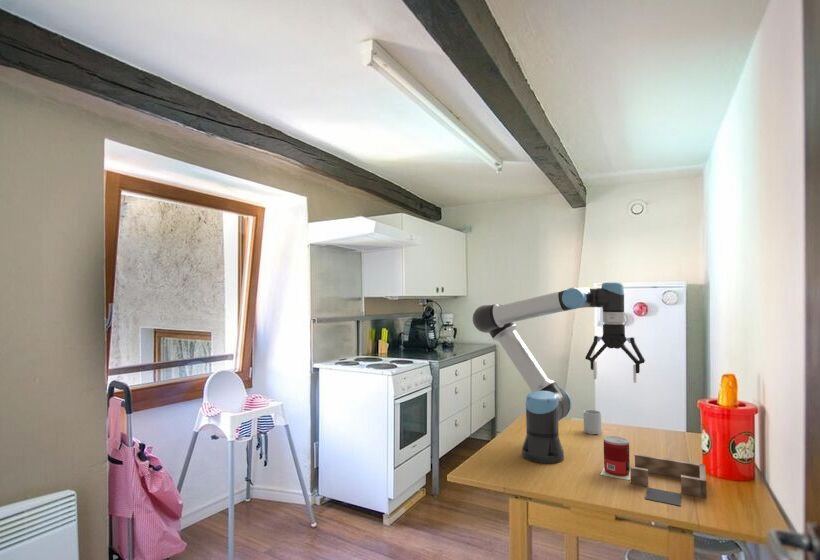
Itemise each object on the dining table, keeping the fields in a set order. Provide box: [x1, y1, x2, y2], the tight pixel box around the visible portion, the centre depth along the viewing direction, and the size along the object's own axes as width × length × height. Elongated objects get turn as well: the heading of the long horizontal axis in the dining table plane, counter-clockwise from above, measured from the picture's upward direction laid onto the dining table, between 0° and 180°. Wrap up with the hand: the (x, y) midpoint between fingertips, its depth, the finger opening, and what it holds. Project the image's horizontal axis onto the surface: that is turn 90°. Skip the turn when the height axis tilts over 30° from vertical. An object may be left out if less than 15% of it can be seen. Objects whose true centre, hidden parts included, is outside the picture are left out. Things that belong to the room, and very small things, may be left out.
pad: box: [600, 467, 631, 481], centre depth 155 cm, size 9×10×1 cm
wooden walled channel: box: [630, 453, 707, 499], centre depth 147 cm, size 20×15×5 cm
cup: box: [583, 409, 602, 435], centre depth 201 cm, size 7×10×9 cm
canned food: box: [603, 435, 631, 476], centre depth 156 cm, size 8×8×11 cm
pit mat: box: [644, 486, 682, 507], centre depth 137 cm, size 9×9×1 cm
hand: (614, 380), depth 170 cm, fingers open, 13 cm apart
